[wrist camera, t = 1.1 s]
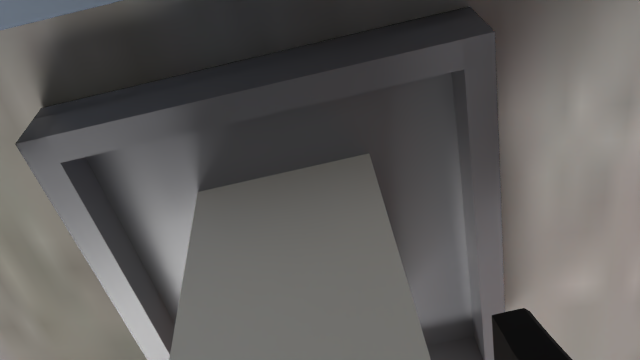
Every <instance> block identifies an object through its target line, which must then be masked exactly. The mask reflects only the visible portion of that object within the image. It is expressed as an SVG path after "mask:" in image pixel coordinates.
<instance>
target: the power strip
mask: <svg viewBox="0 0 640 360" xmlns="http://www.w3.org/2000/svg"><path fill="white" fill-rule="evenodd" d="M118 1H122V0H0V30H4V29H8V28H12V27H16V26H20V25H24V24H28V23H32V22H37V21H41V20H45V19H49V18H53V17H57V16H61V15H65V14H69V13H73V12H77V11H81V10H86V9H90V8H94V7H98V6H102V5H106V4H110V3H114V2H118Z"/></svg>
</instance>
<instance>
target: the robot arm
mask: <svg viewBox="0 0 640 360" xmlns="http://www.w3.org/2000/svg"><path fill="white" fill-rule="evenodd" d="M492 331H493V349H494V360H572V359H571V358H570V357H569V356H568V355H567V353H566V352H565V351H564V350H563V349H562V348H561V347H560V346H559V345H558V344H557V343H556V341H555V340H554V339H553V338H552V337H551V336H550V335H549V334H548V332H547V331H546V330H545V329H544V328H543V327H542V326H541V324H540V323H539V322H538V321H537V320H536V318H535V317H534V316H533V315H532V314H531V312H530V311H528V310H526V309H524V308H523V309H518V310H513V311H509V312H504V313H499V314H494V315H492Z"/></svg>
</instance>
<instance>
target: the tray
mask: <svg viewBox="0 0 640 360" xmlns="http://www.w3.org/2000/svg"><path fill="white" fill-rule="evenodd" d="M16 146H17V148H18V149H19V151H20V153H21V154H22V156H23V157H24V159H25V161H26V162H27V164H28V166H29V167H30V169H31V170H32V172H33V174H34V175H35V177H36V179H37V180H38V182H39V184H40V185H41V187H42V188H43V190H44V192H45V193H46V195H47V197H48V198H49V200H50V202H51V203H52V205H53V206H54V208H55V210H56V211H57V213H58V215H59V216H60V218H61V220H62V221H63V223H64V224H65V226H66V228H67V229H68V231H69V233H70V234H71V236H72V237H73V239H74V241H75V242H76V244H77V246H78V247H79V249H80V251H81V252H82V254H83V255H84V257H85V259H86V260H87V262H88V264H89V265H90V267H91V269H92V270H93V272H94V273H95V275H96V277H97V278H98V280H99V282H100V283H101V285H102V287H103V288H104V290H105V291H106V293H107V295H108V296H109V298H110V300H111V301H112V303H113V304H114V306H115V308H116V309H117V311H118V313H119V314H120V316H121V318H122V319H123V321H124V322H125V324H126V326H127V327H128V329H129V331H130V332H131V334H132V336H133V337H134V339H135V340H136V342H137V344H138V345H139V347H140V349H141V350H142V352H143V354H144V355H145V357H146V358H147V360H169V358H170V352H171V346H172V340H173V334H174V328H175V322H176V317H177V311H178V305H179V299H180V293H181V287H182V281H183V275H184V269H185V263H186V258H187V252H188V246H189V240H190V234H191V228H192V222H193V216H194V210H195V204H196V199H197V193H198V192H200V191H204V190H209V189H213V188H218V187H222V186H226V185H231V184H235V183H240V182H244V181H249V180H253V179H258V178H262V177H266V176H271V175H275V174H280V173H284V172H289V171H293V170H297V169H302V168H306V167H311V166H315V165H320V164H324V163H328V162H333V161H337V160H342V159H346V158H351V157H355V156H359V155H364V154H368V153H369V154H370V158H371V161H372V164H373V168H374V171H375V174H376V178H377V181H378V184H379V188H380V191H381V194H382V198H383V201H384V205H385V208H386V211H387V215H388V218H389V221H390V225H391V228H392V231H393V235H394V238H395V241H396V245H397V248H398V251H399V255H400V258H401V261H402V265H403V268H404V272H405V275H406V278H407V282H408V285H409V288H410V292H411V295H412V298H413V302H414V305H415V308H416V312H417V315H418V318H419V322H420V325H421V328H422V332H423V335H424V338H425V342H426V345H427V349H428V352H429V355H430V359H431V360H494V349H493V331H492V315H494V314H499V313H504V312H505V297H504V269H503V242H502V214H501V186H500V158H499V130H498V102H497V74H496V46H495V31H494V30H493V29H492V28H491V27H490V26H489V25H488V24H487V23H486V22H485V21H484V20H483V19H482V18H481V17H480V16H479V15H478V14H477V13H476V12H475V11H474V10H473V9H472V8H471V7H467V8H463V9H458V10H454V11H450V12H446V13H442V14H437V15H433V16H429V17H425V18H420V19H416V20H412V21H408V22H404V23H399V24H395V25H391V26H387V27H382V28H378V29H374V30H370V31H366V32H361V33H357V34H353V35H349V36H344V37H340V38H336V39H332V40H327V41H323V42H319V43H315V44H311V45H306V46H302V47H298V48H294V49H289V50H285V51H281V52H277V53H273V54H268V55H264V56H260V57H256V58H251V59H247V60H243V61H239V62H235V63H230V64H226V65H222V66H218V67H213V68H209V69H205V70H201V71H197V72H192V73H188V74H184V75H180V76H175V77H171V78H167V79H163V80H159V81H154V82H150V83H146V84H142V85H137V86H133V87H129V88H125V89H121V90H116V91H112V92H108V93H104V94H99V95H95V96H91V97H87V98H83V99H78V100H74V101H70V102H66V103H61V104H57V105H53V106H49V107H45V108H41V109H40V111H39V112H38V113H37V115H36V116H35V117H34V119H33V120H32V122H31V123H30V124H29V126H28V127H27V129H26V130H25V131H24V133H23V134H22V135H21V137H20V138H19V140H18V141H17V142H16Z"/></svg>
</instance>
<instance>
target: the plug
mask: <svg viewBox="0 0 640 360" xmlns="http://www.w3.org/2000/svg"><path fill="white" fill-rule="evenodd" d="M169 360H431V359H430V355H429V352H428V349H427V345H426V342H425V338H424V335H423V332H422V328H421V325H420V322H419V318H418V315H417V312H416V308H415V305H414V302H413V298H412V295H411V292H410V288H409V285H408V282H407V278H406V275H405V272H404V268H403V265H402V261H401V258H400V255H399V251H398V248H397V245H396V241H395V238H394V235H393V231H392V228H391V225H390V221H389V218H388V215H387V211H386V208H385V205H384V201H383V198H382V194H381V191H380V188H379V184H378V181H377V178H376V174H375V171H374V168H373V164H372V161H371V158H370V154H369V153H368V154H364V155H359V156H355V157H351V158H346V159H342V160H337V161H333V162H328V163H324V164H320V165H315V166H311V167H306V168H302V169H297V170H293V171H289V172H284V173H280V174H275V175H271V176H266V177H262V178H258V179H253V180H249V181H244V182H240V183H235V184H231V185H226V186H222V187H218V188H213V189H209V190H204V191H200V192H198V193H197V199H196V204H195V210H194V216H193V222H192V228H191V234H190V240H189V246H188V252H187V258H186V263H185V269H184V275H183V281H182V287H181V293H180V299H179V305H178V311H177V317H176V322H175V328H174V334H173V340H172V346H171V352H170V358H169Z"/></svg>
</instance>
